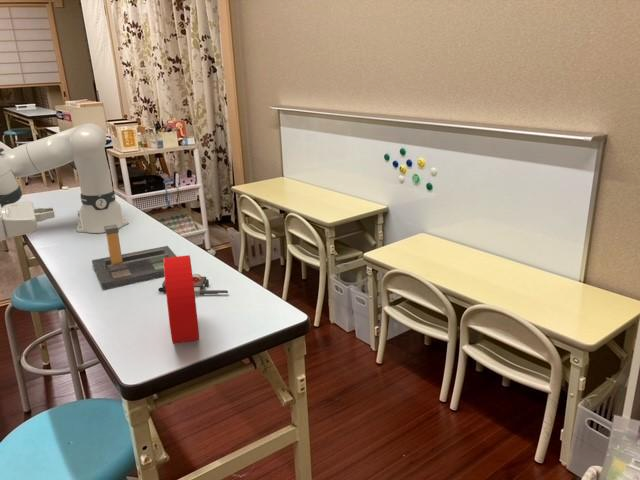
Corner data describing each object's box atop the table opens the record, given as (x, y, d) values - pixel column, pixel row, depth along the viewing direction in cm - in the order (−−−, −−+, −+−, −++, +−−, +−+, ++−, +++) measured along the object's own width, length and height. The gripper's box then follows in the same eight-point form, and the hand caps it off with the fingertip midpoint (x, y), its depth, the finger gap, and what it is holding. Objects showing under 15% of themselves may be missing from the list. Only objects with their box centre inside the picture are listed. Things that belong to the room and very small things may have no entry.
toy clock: (201, 356, 113) (192, 275, 106) (174, 361, 112) (163, 279, 105) (195, 314, 131) (188, 243, 124) (172, 318, 130) (163, 245, 123)
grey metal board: (92, 266, 161) (90, 254, 160) (168, 251, 173) (166, 240, 171) (103, 289, 145) (100, 277, 144) (185, 271, 156) (184, 260, 155)
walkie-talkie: (156, 298, 141) (227, 298, 141) (154, 283, 139) (226, 283, 139) (165, 284, 149) (233, 284, 149) (163, 270, 148) (232, 270, 147)
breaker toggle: (110, 265, 156) (103, 226, 151) (122, 263, 157) (115, 224, 153) (112, 269, 153) (105, 229, 148) (124, 266, 155) (118, 227, 150)
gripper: (-1, 221, 144) (53, 213, 151) (-1, 243, 128) (59, 233, 134) (-6, 199, 142) (48, 192, 149) (-7, 219, 126) (54, 210, 132)
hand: (53, 212), depth 141 cm, fingers open, 2 cm apart
